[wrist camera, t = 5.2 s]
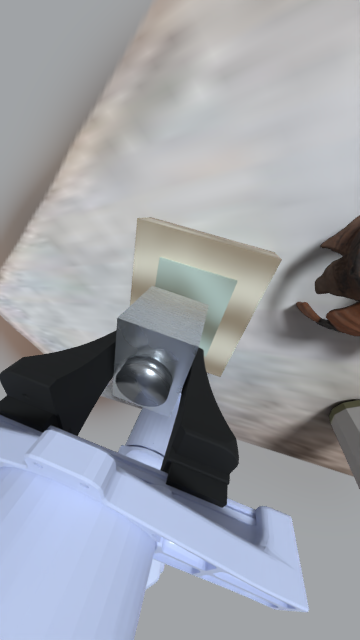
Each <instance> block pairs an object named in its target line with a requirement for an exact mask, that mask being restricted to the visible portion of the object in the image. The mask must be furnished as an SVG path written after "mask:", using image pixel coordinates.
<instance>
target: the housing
mask: <svg viewBox="0 0 360 640" xmlns="http://www.w3.org/2000/svg"><path fill="white" fill-rule="evenodd" d="M208 307H209V305H207V304H204V303H201V302H199V301H196V300H193V299H190V298H187V297H184V296H181V295H178V294H175V293H172V292H169V291H166V290H163V289H160V288H157V287H154V286H151V287H150V288H149V289H148V290H147V291H146V292H145V293H144V294H143V295H142V296H141V297H139V298H138V299H137V300H136V301H135V302H134V303H133V304H132V305H131V306H130V307H129V308H128V309H127V310H126V311H124V312H123V313H122V314H121V315H120V316H119V317H118V319H117V333H116V348H115V362H114V377H113V391H112V396H115V397H118V398H120V399H123V400H125V401H128V402H130V403H133V404H136V405H138V406H141V407H143V408H146V409H148V410H151V411H153V412H156V413H159V414H161V415H164V416H166V417H169V418H170V416H171V414H172V411H173V409H174V407H175V404H176V402H177V399H178V397H179V394H180V392H181V389H182V387H183V385H184V382H185V380H186V377H187V375H188V372H189V370H190V368H191V365H192V363H193V360H194V358H195V355H196V353H197V350H198V348H199V345H200V340H201V336H202V332H203V328H204V324H205V319H206V315H207V311H208Z"/></svg>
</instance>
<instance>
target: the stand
mask: <svg viewBox="0 0 360 640" xmlns="http://www.w3.org/2000/svg"><path fill="white" fill-rule="evenodd" d="M281 260H282V259H281V258H280V257H279V256H278V255H277V254H276V253H275V252H271V251H268V250H264V249H261V248H257V247H253V246H250V245H246V244H243V243H239V242H236V241H232V240H229V239H225V238H222V237H218V236H215V235H211V234H208V233H204V232H201V231H197V230H194V229H190V228H187V227H183V226H180V225H176V224H173V223H169V222H165V221H162V220H158V219H155V218H151V217H149V218H137V229H136V241H135V253H134V265H133V277H132V289H131V300H130V306H131V305H132V304H133V303H134V302H135V301H136V300H137V299H138V298H139V297H141V296H142V295H143V294H144V293H145V292H146V291H147V290H148V289H149V288H150V287H151V286H154V287H157V288H160V289H163V290H166V291H169V292H172V293H175V294H178V295H181V296H184V297H187V298H190V299H193V300H196V301H199V302H201V303H204V304H207V305H209V307H208V311H207V315H206V319H205V324H204V328H203V332H202V336H201V340H200V345H199V348H201V349H203V350H204V362H205V368H206V372H208V373H210V374H213V375H216V376H219V377H220V376H221V375H222V373H223V371H224V369H225V367H226V365H227V363H228V361H229V359H230V357H231V355H232V354H233V352H234V350H235V348H236V346H237V344H238V342H239V340H240V338H241V336H242V335H243V333H244V331H245V329H246V327H247V325H248V323H249V321H250V319H251V317H252V315H253V314H254V312H255V310H256V308H257V306H258V304H259V302H260V300H261V298H262V296H263V295H264V293H265V291H266V289H267V287H268V285H269V283H270V281H271V279H272V277H273V275H274V274H275V272H276V270H277V268H278V266H279V264H280V262H281Z"/></svg>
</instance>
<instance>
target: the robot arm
mask: <svg viewBox="0 0 360 640" xmlns="http://www.w3.org/2000/svg"><path fill="white" fill-rule="evenodd" d="M116 333H117V330H116V331H114V332H112V333H110V334H108V335H106V336H104V337H102V338H99V339H97V340H95V341H92V342H90V343H87V344H84V345H81V346H78V347H74V348H70V349H67V350H63V351H59V352H54V353H49V354H43V355H36V356H29V357H23V358H21V359H20V360H18V361H17V362H15V363H14V364H13V365H11V366H10V367H8V368H7V369H5V370H4V371H2V372H1V374H0V381H1V384H2V386H3V388H4V390H5V392H6V393H7V396H6V397H5V398H4V399H2V400H1V401H0V640H134V637H135V633H136V628H137V624H138V620H139V616H140V611H141V607H142V602H143V598H144V594H145V590H146V589H148V588H149V587H150V586H152V585H153V584H155V583H156V582H157V581H158V579H159V577H160V573H162V572H163V570H164V566H165V564H166V565H169V566H172V567H174V568H176V569H179V570H181V571H184V572H187V573H189V574H192V575H194V576H196V577H199V578H202V579H204V580H207V581H209V582H212V583H214V584H217V585H219V586H221V587H224V588H226V589H229V590H231V591H234V592H236V593H238V594H241V595H243V596H245V597H248V598H250V599H253V600H255V601H257V602H259V603H261V604H263V605H266V606H268V607H270V608H272V609H275V610H287V611H299V612H308V611H309V607H308V601H307V597H306V591H305V586H304V580H303V575H302V570H301V565H300V559H299V554H298V549H297V544H296V539H295V533H294V528H293V523H292V518H291V517H290V516H289V515H287V514H285V513H282V512H280V511H277V510H275V509H272V508H270V507H267V506H260V507H258V508H257V509H256V510H255V509H253V508H250V507H248V506H245V505H243V504H241V503H238V502H236V501H233V500H231V499H228V498H227V485H228V484H229V479H230V476H229V475H230V473H231V472H232V471H233V470H234V469H235V468H236V467H237V465H238V463H239V462H238V461H239V455H238V447H237V441H236V438H235V436H234V434H233V433H232V431H231V430H230V428H229V426H228V425H227V423H226V421H225V419H224V417H223V415H222V413H221V411H220V409H219V407H218V405H217V403H216V400H215V398H214V395H213V393H212V390H211V387H210V384H209V380H208V377H207V372H206V368H205V362H204V350H203V349H201V348H198V350H197V353H196V355H195V358H194V360H193V363H192V365H191V368H190V370H189V372H188V375H187V377H186V380H185V382H184V385H183V388H182V393H180V394H179V397H178V399H177V402H176V404H175V407H174V409H173V411H172V414H171V416H170V418H169V417H166V416H164V415H161V414H159V413H156V412H153V411H151V410H148V409H146V408H142V410H141V412H140V415H139V416H138V419H137V421H136V423H135V425H134V427H133V430H132V432H131V434H130V436H129V438H128V440H127V442H126V444H125V446H124V445H121V447H120V449H119V451H118V453H117V452H115V451H112V450H110V449H107V448H105V447H102V446H100V445H98V444H95V443H93V442H90V441H88V440H85V439H83V438H80V437H78V434H79V432H80V430H81V428H82V427H83V425H84V423H85V421H86V419H87V418H88V416H89V414H90V412H91V410H92V408H93V407H94V405H95V404H96V402H97V400H98V399H99V397H100V395H101V394H102V392H103V391H104V389H105V387H106V386H107V384H108V383H109V381H110V380H111V379H112V377H113V376H114V362H115V348H116Z"/></svg>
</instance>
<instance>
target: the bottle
mask: <svg viewBox="0 0 360 640" xmlns="http://www.w3.org/2000/svg"><path fill="white" fill-rule="evenodd" d="M329 419H330V423H331V426H332V428H333V430H334V432H335V435H336V437H337V439H338V441H339V444H340V446H341V448H342V450H343V453H344V455H345V457H346V459H347V462H348V464H349V466H350V469H351V471H352V473H353V475H354V478H355V480H356V482H357V484H358V486H359V489H360V400H356V401H350V402H345V403H342V404H340V405H338V406H337V407H335V408H333V409H332V411H331V413H330V415H329Z"/></svg>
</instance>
